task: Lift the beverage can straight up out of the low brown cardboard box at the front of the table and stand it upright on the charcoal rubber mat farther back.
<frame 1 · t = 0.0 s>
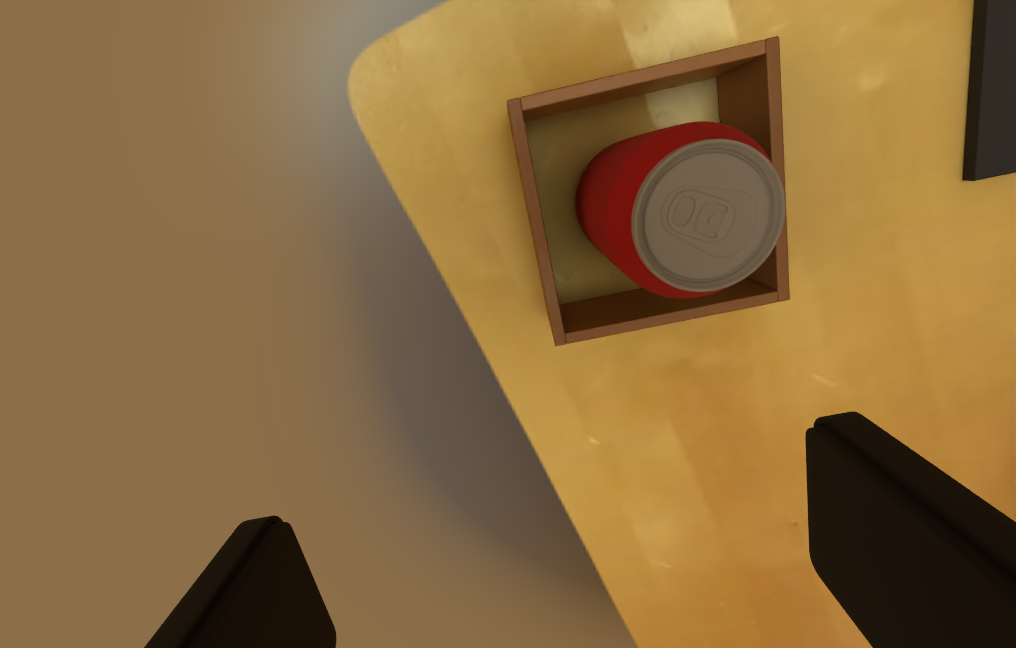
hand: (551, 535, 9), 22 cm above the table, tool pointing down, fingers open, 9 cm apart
beverage can: (629, 199, 29), resting in open box
open box: (630, 199, 28), on the table
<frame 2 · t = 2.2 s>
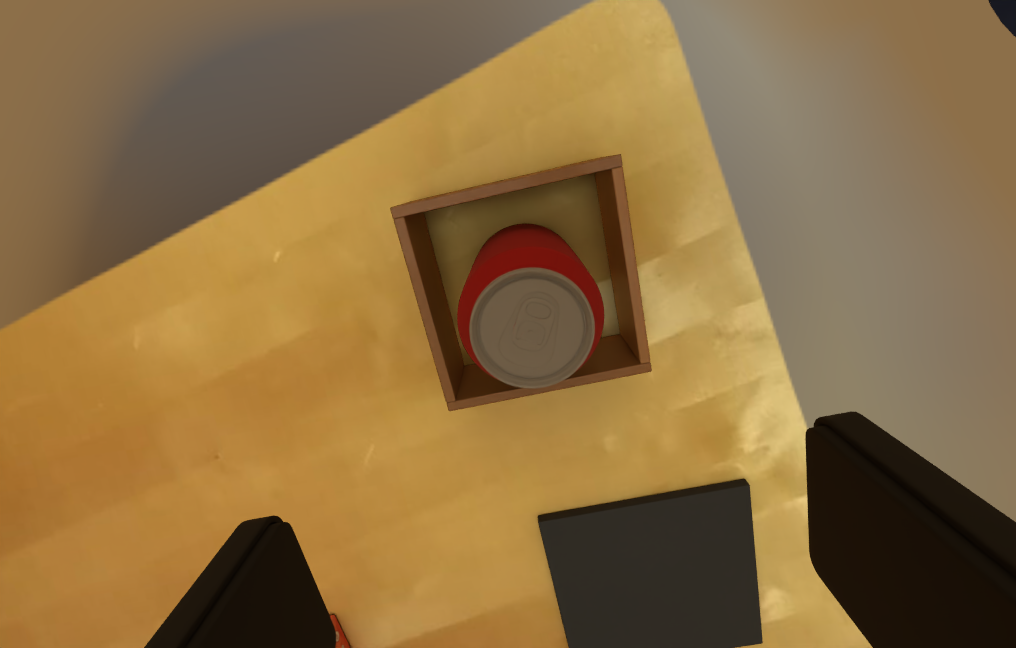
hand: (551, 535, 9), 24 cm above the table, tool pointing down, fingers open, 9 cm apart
beverage can: (524, 273, 32), resting in open box
mat: (652, 577, 39), on the table
open box: (525, 273, 32), on the table
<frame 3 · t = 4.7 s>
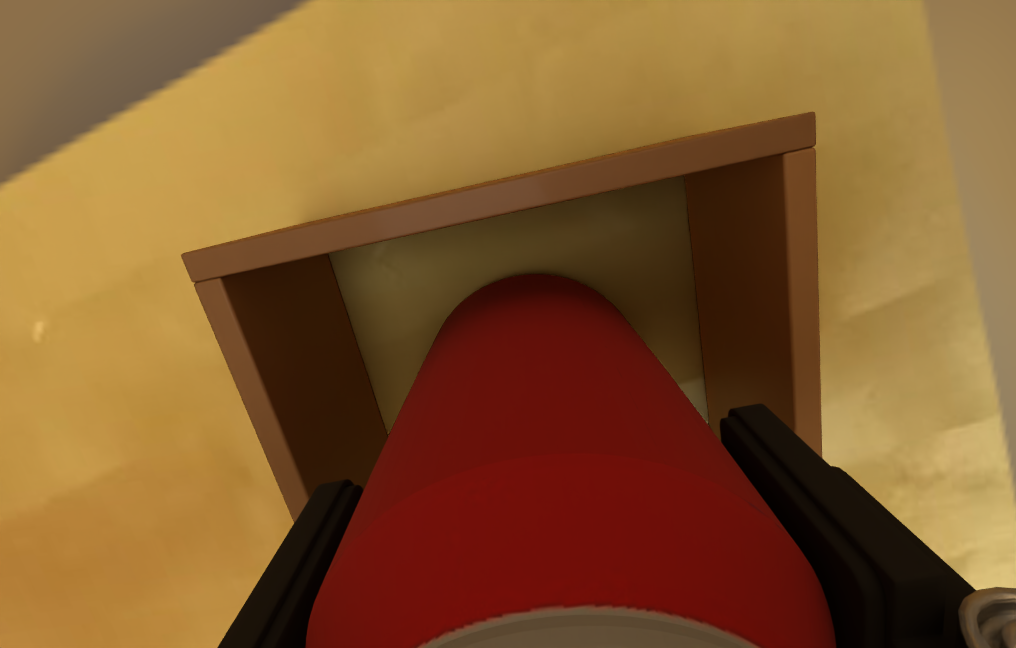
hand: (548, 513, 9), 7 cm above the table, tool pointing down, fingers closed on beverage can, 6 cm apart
beverage can: (533, 365, 16), resting in open box, touching gripper
open box: (533, 367, 16), on the table
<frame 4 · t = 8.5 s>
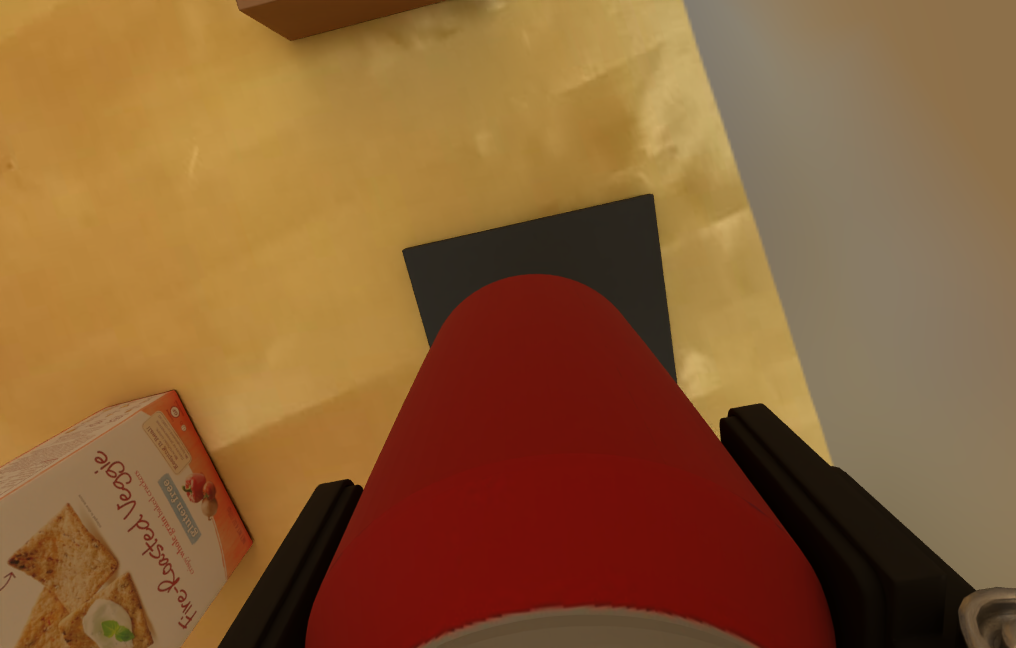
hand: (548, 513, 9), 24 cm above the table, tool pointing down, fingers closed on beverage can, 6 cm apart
cracker box: (188, 473, 37), on the table
beverage can: (533, 364, 16), point 16 cm above the table, touching gripper
mat: (548, 337, 33), on the table
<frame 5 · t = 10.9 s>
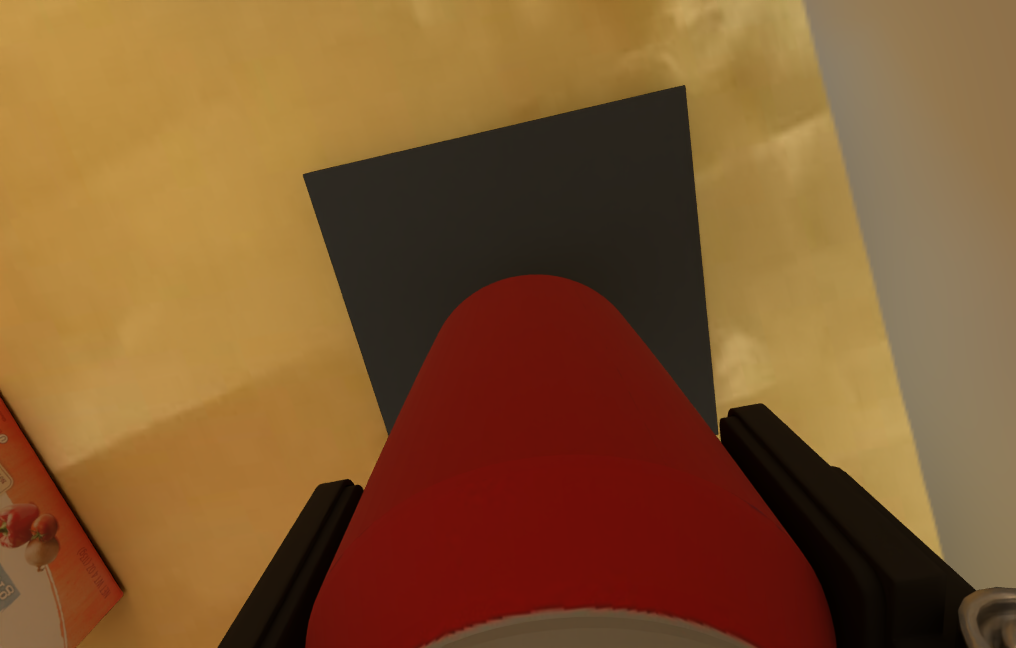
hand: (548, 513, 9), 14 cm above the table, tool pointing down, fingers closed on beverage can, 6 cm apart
cracker box: (27, 500, 26), on the table
beverage can: (533, 365, 16), point 7 cm above the table, touching gripper
mat: (526, 310, 23), on the table
when the fingers open (8 cm above the table, at t = 12.8 s): beverage can stays where it is, resting on mat.
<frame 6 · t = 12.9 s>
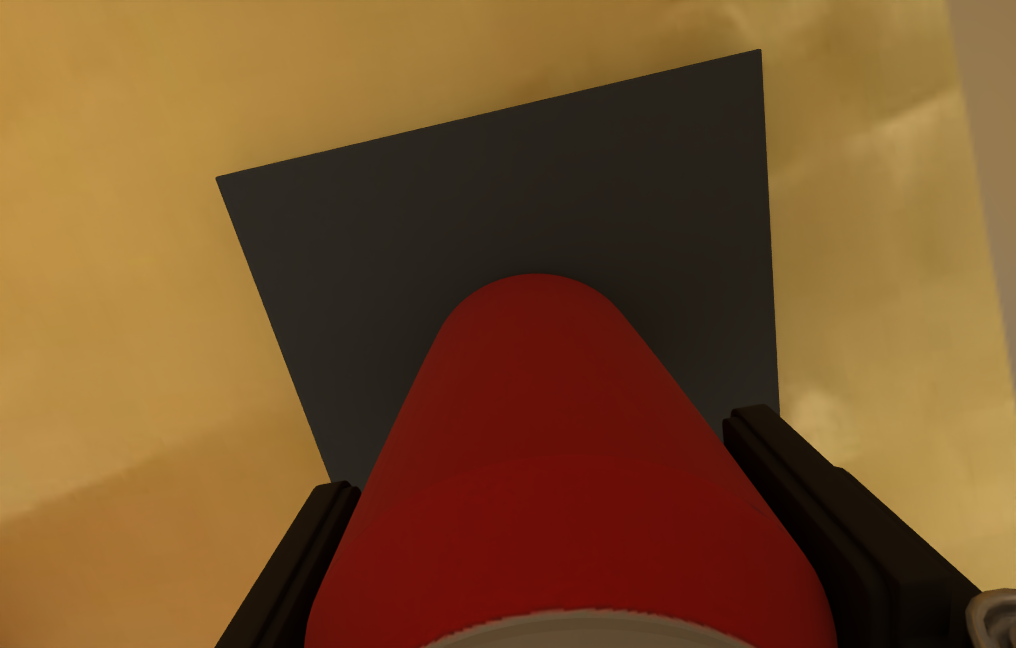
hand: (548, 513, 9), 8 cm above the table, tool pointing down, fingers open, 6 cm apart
beverage can: (533, 364, 16), point 1 cm above the table, touching mat
mat: (530, 360, 17), on the table
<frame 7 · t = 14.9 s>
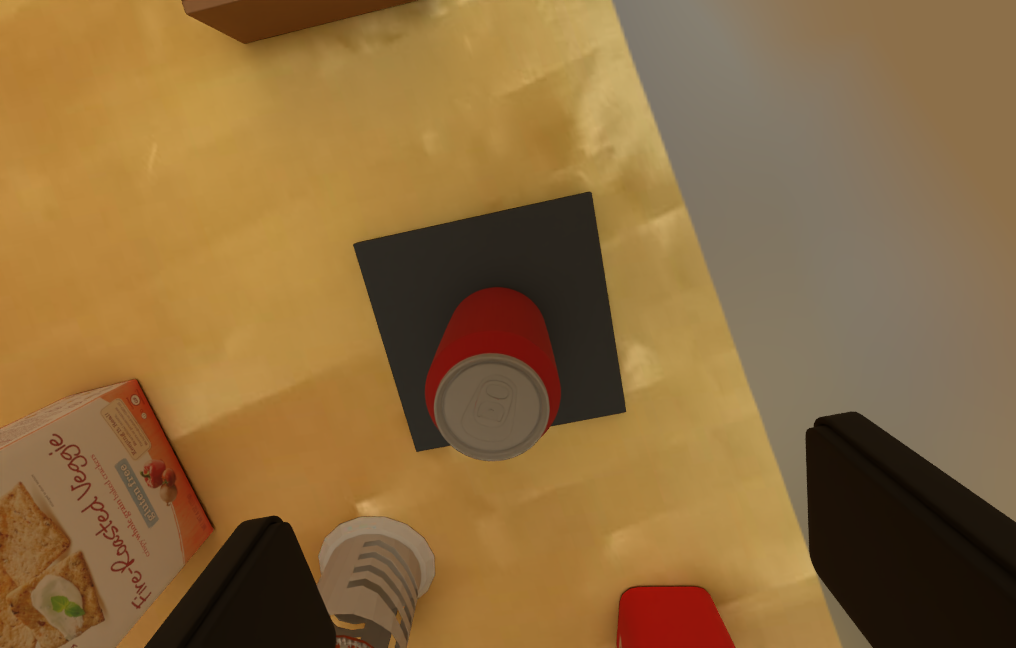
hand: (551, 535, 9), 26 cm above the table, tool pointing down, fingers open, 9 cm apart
cracker box: (150, 461, 38), on the table
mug: (659, 635, 43), on the table
french press: (384, 570, 41), on the table
beverage can: (497, 330, 34), point 1 cm above the table, touching mat
mat: (497, 329, 34), on the table
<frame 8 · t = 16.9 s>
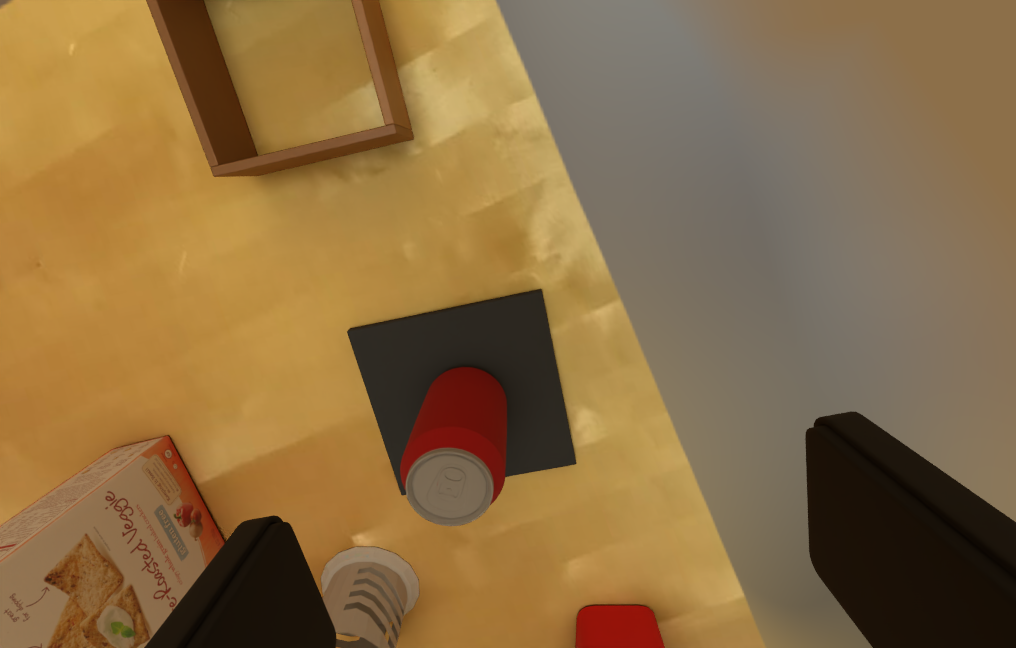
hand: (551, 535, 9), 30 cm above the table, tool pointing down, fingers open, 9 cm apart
cracker box: (179, 501, 45), on the table
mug: (612, 645, 50), on the table
french press: (376, 590, 48), on the table
beverage can: (467, 398, 41), point 1 cm above the table, touching mat
mat: (467, 396, 41), on the table
open box: (307, 67, 34), on the table
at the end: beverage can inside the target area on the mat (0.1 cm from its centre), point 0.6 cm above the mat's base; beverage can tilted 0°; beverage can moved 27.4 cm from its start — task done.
